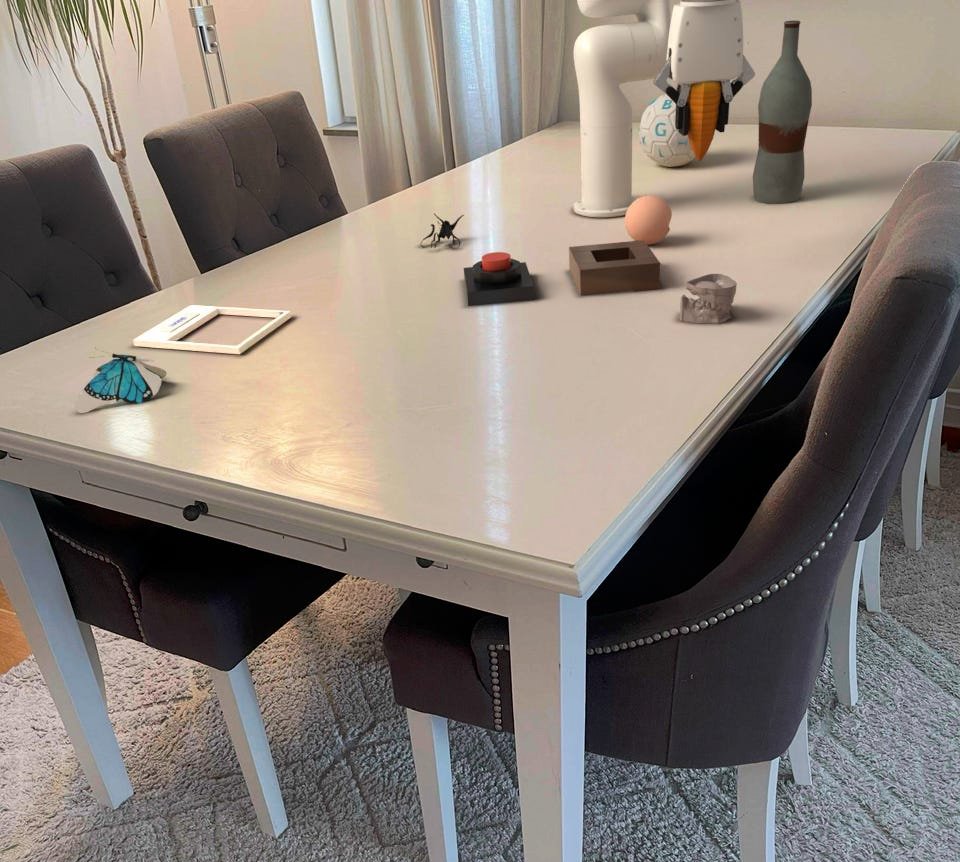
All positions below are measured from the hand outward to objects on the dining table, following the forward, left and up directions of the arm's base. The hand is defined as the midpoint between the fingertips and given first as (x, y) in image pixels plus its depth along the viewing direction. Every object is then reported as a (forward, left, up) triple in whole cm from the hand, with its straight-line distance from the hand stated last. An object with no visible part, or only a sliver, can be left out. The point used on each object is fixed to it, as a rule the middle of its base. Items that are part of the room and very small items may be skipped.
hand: (701, 130), depth 140 cm
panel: (+3, -31, -20) cm, 38 cm away
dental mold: (+22, -3, -20) cm, 30 cm away
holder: (+3, -13, -20) cm, 25 cm away
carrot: (0, 0, -4) cm, 4 cm away
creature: (-24, -39, -20) cm, 51 cm away
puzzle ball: (-69, +13, -20) cm, 73 cm away
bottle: (-35, +25, -20) cm, 47 cm away
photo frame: (+10, -74, -20) cm, 78 cm away
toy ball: (-14, -4, -20) cm, 25 cm away
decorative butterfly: (+30, -82, -20) cm, 90 cm away
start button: (+3, -31, -17) cm, 36 cm away
